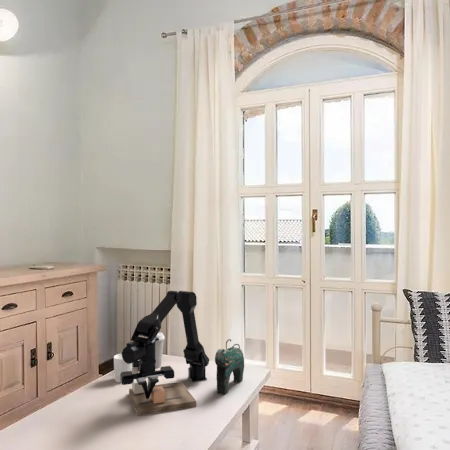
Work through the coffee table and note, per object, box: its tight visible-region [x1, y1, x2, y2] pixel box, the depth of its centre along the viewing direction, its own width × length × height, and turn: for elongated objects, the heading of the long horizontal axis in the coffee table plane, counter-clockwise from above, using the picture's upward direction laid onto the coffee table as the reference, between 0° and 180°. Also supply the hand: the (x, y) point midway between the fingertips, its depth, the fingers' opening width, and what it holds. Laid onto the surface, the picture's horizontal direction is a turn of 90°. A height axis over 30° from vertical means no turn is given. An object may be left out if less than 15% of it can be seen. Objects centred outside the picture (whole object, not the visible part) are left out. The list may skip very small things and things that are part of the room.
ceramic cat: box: [214, 338, 245, 396], centre depth 170 cm, size 20×6×20 cm, turn 152°
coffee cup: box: [143, 331, 166, 369], centre depth 194 cm, size 10×10×15 cm
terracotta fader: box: [151, 386, 165, 404], centre depth 152 cm, size 4×5×4 cm
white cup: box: [113, 353, 133, 384], centre depth 177 cm, size 8×8×10 cm
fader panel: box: [128, 381, 197, 417], centre depth 157 cm, size 21×20×2 cm
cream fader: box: [131, 379, 144, 394], centre depth 160 cm, size 4×5×4 cm
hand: (147, 398), depth 150 cm, fingers closed
